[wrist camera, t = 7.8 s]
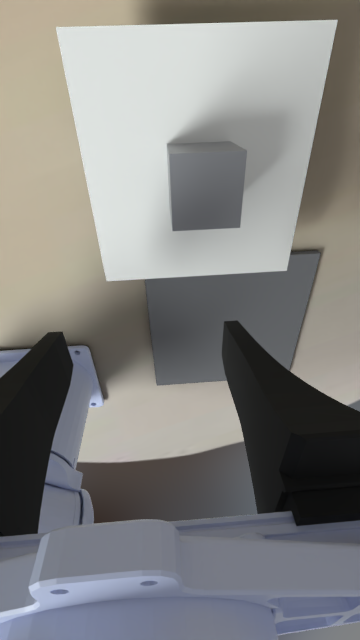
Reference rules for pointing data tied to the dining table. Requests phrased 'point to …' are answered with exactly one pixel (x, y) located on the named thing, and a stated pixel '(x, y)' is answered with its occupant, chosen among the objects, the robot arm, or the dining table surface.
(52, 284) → the dining table surface
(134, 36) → the lid
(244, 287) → the mat
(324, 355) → the dining table surface
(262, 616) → the robot arm
